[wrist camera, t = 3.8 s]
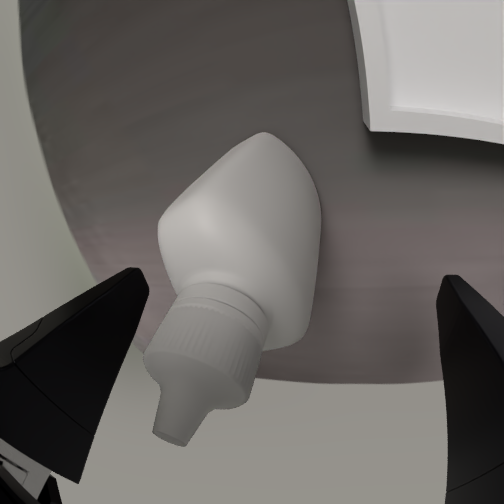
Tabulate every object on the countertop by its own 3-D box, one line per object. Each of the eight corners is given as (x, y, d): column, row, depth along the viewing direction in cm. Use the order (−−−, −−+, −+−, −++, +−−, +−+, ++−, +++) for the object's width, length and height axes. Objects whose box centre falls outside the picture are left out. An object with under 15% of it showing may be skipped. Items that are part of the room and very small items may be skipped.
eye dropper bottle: (240, 231, 16) (132, 444, 7) (231, 130, 13) (14, 316, 3) (320, 238, 15) (279, 486, 6) (325, 131, 12) (292, 407, 2)
